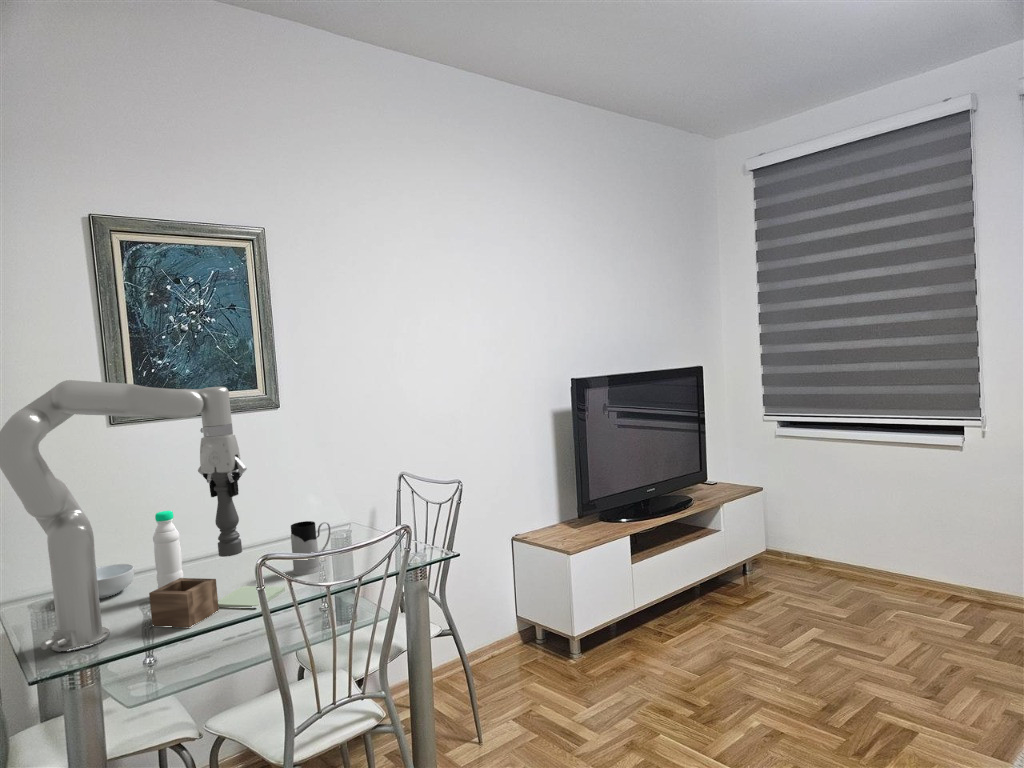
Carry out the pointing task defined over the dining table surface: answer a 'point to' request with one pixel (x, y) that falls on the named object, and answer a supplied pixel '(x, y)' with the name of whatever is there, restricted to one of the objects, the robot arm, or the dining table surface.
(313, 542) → the gray black mug
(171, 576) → the water bottle
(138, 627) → the dining table surface
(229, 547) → the candle holder
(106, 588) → the cereal bowl
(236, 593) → the sage mat
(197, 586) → the walnut sleeve
